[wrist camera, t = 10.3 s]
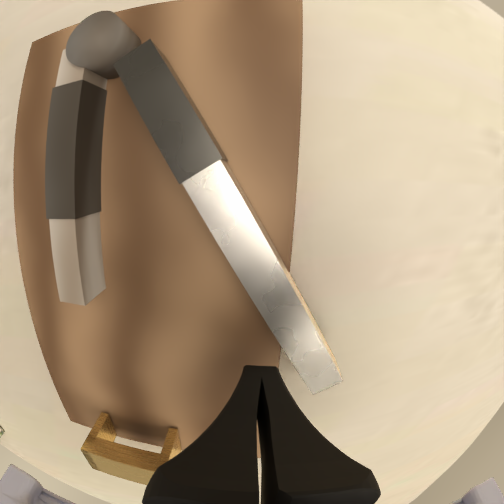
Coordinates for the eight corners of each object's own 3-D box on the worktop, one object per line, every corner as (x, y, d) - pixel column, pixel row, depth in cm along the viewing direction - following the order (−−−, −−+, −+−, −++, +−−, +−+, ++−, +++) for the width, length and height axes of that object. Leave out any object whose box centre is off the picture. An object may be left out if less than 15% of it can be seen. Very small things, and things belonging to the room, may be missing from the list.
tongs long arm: (305, 370, 14) (311, 396, 12) (133, 77, 11) (112, 64, 9) (336, 356, 14) (345, 380, 12) (165, 56, 10) (150, 38, 8)
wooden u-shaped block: (110, 432, 17) (92, 468, 13) (101, 412, 16) (80, 449, 12) (181, 448, 17) (171, 490, 13) (177, 429, 16) (164, 473, 12)
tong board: (76, 411, 18) (57, 440, 15) (42, 47, 11) (7, 32, 7) (264, 446, 18) (264, 485, 14) (299, 11, 11) (309, -29, 7)
